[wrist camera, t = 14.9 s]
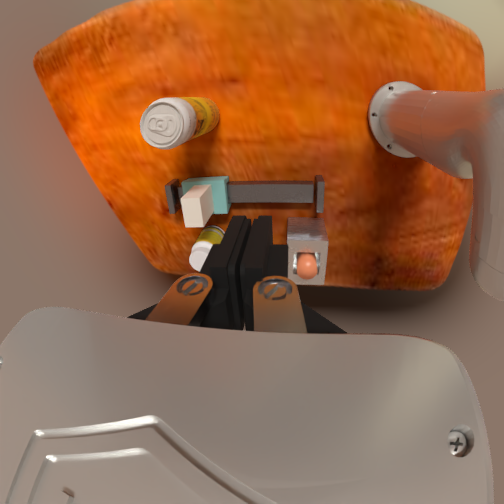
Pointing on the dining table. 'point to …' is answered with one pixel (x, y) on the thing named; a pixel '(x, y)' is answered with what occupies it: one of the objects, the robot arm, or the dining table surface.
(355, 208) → the dining table surface
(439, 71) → the dining table surface
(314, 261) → the button
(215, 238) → the supplement bottle
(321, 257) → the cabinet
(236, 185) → the rail
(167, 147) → the beer can
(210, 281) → the robot arm
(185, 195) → the carriage
